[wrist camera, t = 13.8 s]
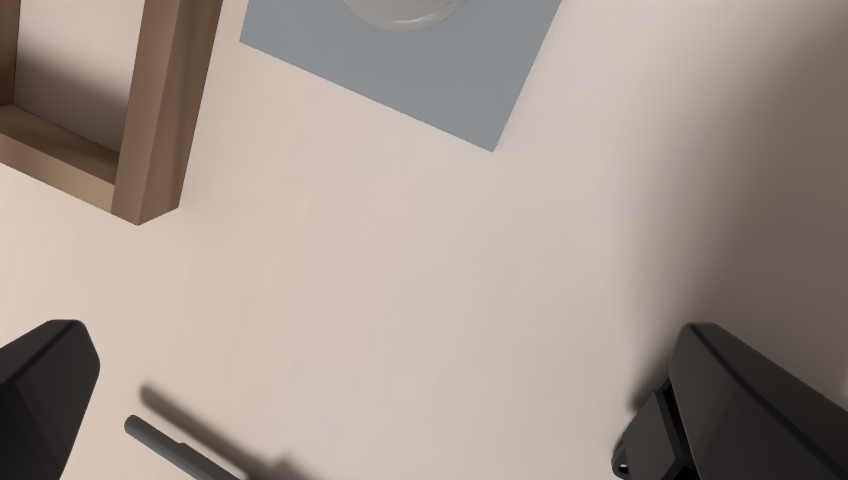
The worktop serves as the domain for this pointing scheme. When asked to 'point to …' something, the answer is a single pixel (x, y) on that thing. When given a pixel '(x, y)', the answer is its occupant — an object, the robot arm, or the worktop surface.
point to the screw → (404, 13)
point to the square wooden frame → (145, 120)
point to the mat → (414, 57)
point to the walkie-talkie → (175, 451)
